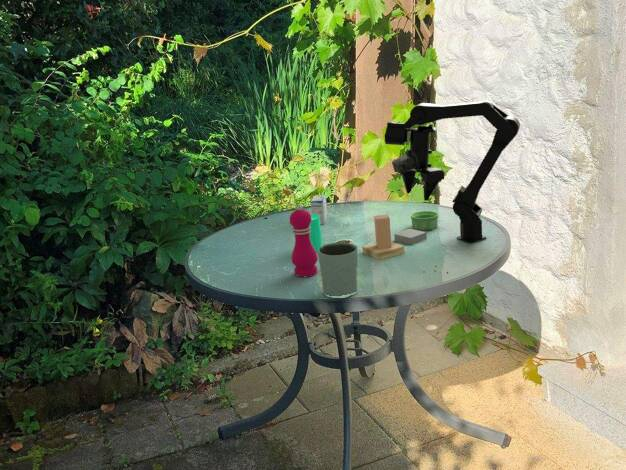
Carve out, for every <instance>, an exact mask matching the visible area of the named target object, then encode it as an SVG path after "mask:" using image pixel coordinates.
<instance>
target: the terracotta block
mask: <svg viewBox="0 0 626 470" xmlns="http://www.w3.org/2000/svg"><path fill="white" fill-rule="evenodd" d="M390 219H391V218H390V216H389V214H378V215H374V216H373V221H374V232H375V235H374V236H375V243H376V245H377V248H378V249H381V248H391V247H392V245H391V241H392V233H391V220H390Z"/></svg>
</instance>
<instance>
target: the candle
mask: <svg viewBox="0 0 626 470" xmlns="http://www.w3.org/2000/svg"><path fill="white" fill-rule="evenodd" d="M308 212H309V211H308ZM309 213H310V215H311V218H312V221H311V223H310V225H309V226H310V227H311V228H310V230H311V232H310V241H311V244H312V246H313V248H314V249H315V251H316V253H318V248H320V247H321V246H323V238H322V227H321V225H322V224H320V216H319V215H316V214H313V215H312V214H311V211H310V212H309Z"/></svg>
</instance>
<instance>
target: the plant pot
mask: <svg viewBox="0 0 626 470" xmlns="http://www.w3.org/2000/svg"><path fill="white" fill-rule="evenodd" d="M317 258H318V263H319V268H320V276H321V282H322V291H323V295H324V294H326V295H329V296H342V295H347V294H351V293H354V292H356V291H357V292H358V289H357V288H358V279H357V275H358V271H357V270H358V269H357V268H358V246H357V245H355V244H353V243H351V242H350V243H349V242H330V243H327V244H324V245H323V244H322V246H321V247H320V248H318V252H317ZM357 292H356V293H357Z"/></svg>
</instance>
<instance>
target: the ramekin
mask: <svg viewBox="0 0 626 470" xmlns="http://www.w3.org/2000/svg"><path fill="white" fill-rule="evenodd" d="M410 218H411V224H412V225H411V226H412V229H414V230H418V231H431V230H434V229H436V228H437V227H438V225H439V224H438V223H439V222H438V221H439V213H438V212H437V211H433V210H420V211H415V212H412V213H411V214H410Z"/></svg>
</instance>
